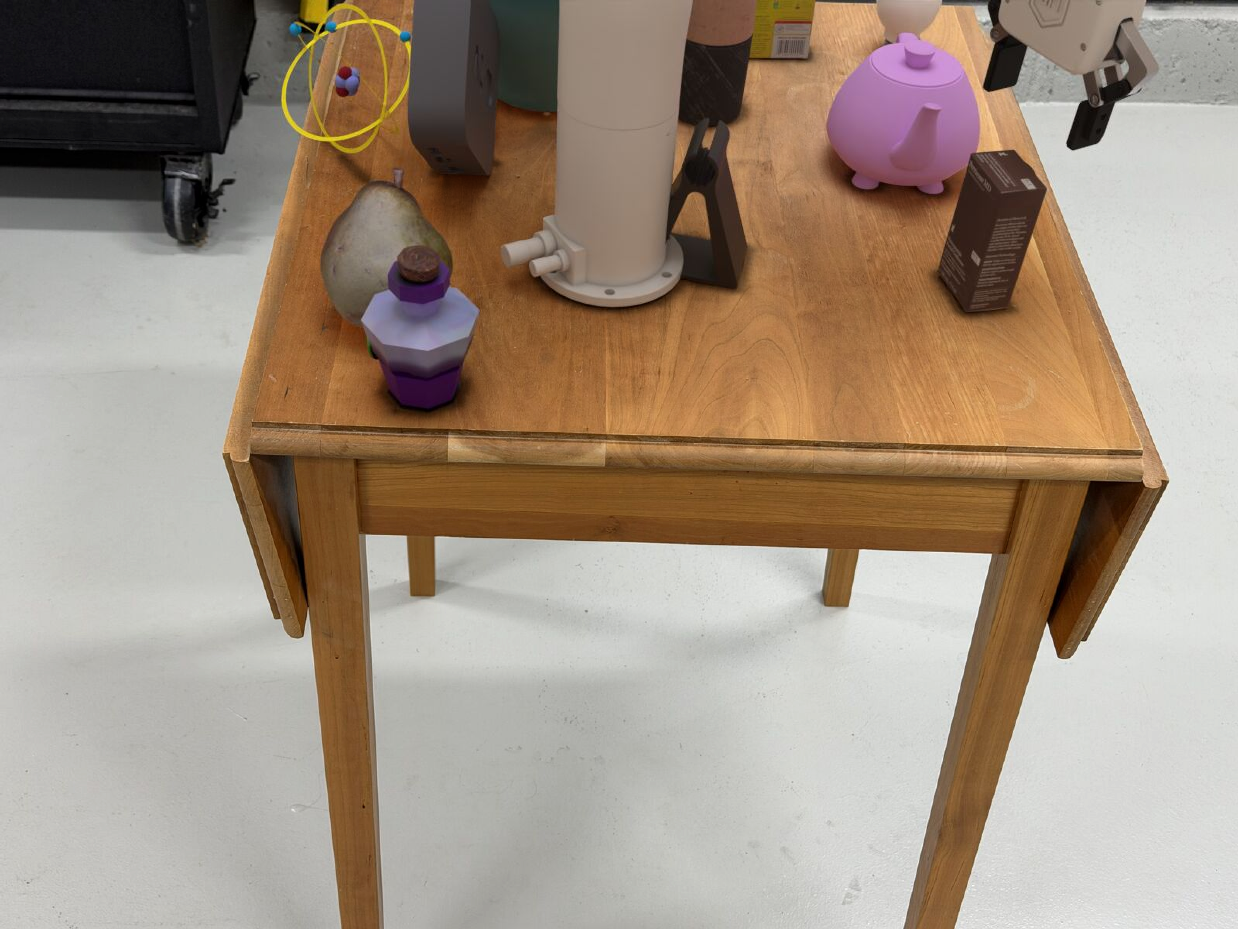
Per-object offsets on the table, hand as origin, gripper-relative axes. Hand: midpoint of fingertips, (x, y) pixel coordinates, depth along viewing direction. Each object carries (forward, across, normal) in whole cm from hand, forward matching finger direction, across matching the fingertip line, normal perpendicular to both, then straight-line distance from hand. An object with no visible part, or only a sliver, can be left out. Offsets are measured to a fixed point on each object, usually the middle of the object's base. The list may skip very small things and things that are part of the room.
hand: (1039, 115), depth 111 cm
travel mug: (+16, -35, -7) cm, 39 cm away
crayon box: (+16, -42, +6) cm, 45 cm away
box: (+15, +1, -4) cm, 16 cm away
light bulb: (+16, -35, +18) cm, 43 cm away
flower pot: (+16, -45, -20) cm, 52 cm away
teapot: (+16, -17, +3) cm, 23 cm away
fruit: (+16, -17, -49) cm, 54 cm away
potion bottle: (+16, -8, -50) cm, 53 cm away
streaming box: (+7, -37, -37) cm, 52 cm away
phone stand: (+16, -13, -23) cm, 31 cm away
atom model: (+3, -43, -40) cm, 59 cm away
